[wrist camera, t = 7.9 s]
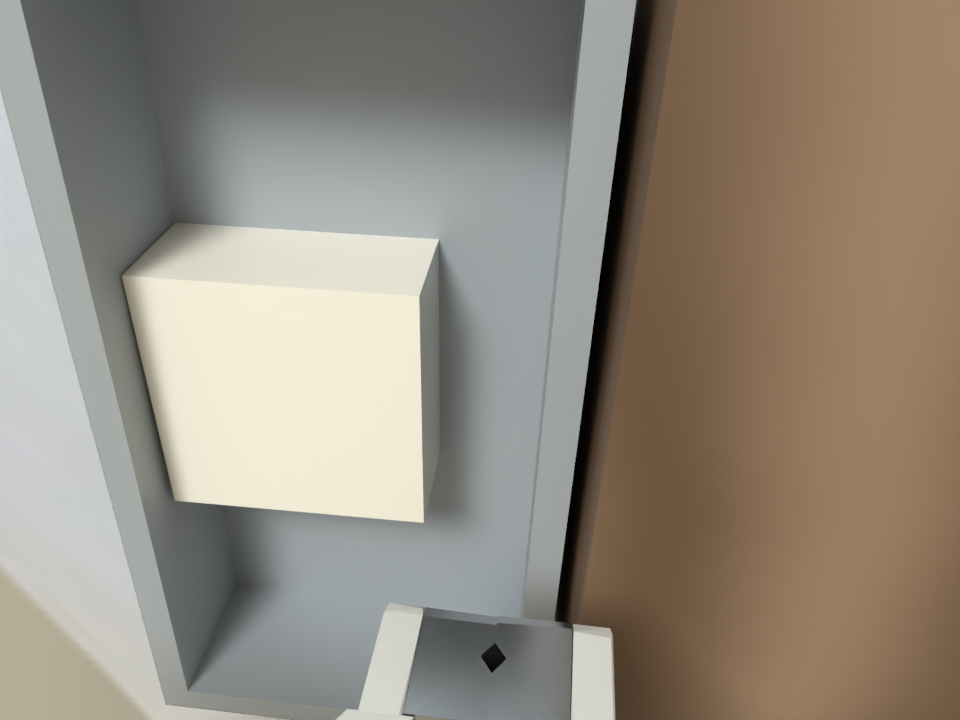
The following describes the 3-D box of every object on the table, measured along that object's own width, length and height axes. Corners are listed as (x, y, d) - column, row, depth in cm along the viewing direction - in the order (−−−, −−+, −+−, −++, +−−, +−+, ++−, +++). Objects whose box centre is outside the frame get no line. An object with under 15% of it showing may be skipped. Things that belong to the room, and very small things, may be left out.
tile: (121, 275, 14) (175, 222, 16) (174, 500, 17) (215, 432, 18) (419, 296, 14) (438, 239, 15) (423, 523, 16) (439, 451, 18)
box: (630, -91, 13) (645, -64, 10) (543, 621, 21) (537, 748, 18) (90, -120, 13) (-51, -104, 10) (221, 585, 22) (166, 704, 19)
